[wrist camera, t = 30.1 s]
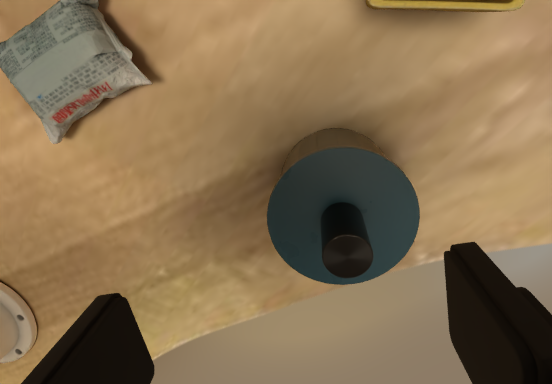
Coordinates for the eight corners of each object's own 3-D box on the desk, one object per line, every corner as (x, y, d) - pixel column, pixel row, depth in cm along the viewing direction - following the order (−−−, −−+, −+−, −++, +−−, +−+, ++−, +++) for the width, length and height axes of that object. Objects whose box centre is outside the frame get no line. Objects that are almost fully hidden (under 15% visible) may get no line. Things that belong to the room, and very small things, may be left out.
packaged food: (163, 81, 33) (139, 85, 28) (66, 140, 36) (29, 153, 31) (107, -15, 31) (70, -27, 26) (7, 56, 34) (-41, 56, 29)
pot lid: (285, 284, 30) (278, 339, 25) (253, 159, 27) (237, 189, 21) (422, 266, 28) (449, 320, 23) (407, 129, 25) (435, 152, 19)
